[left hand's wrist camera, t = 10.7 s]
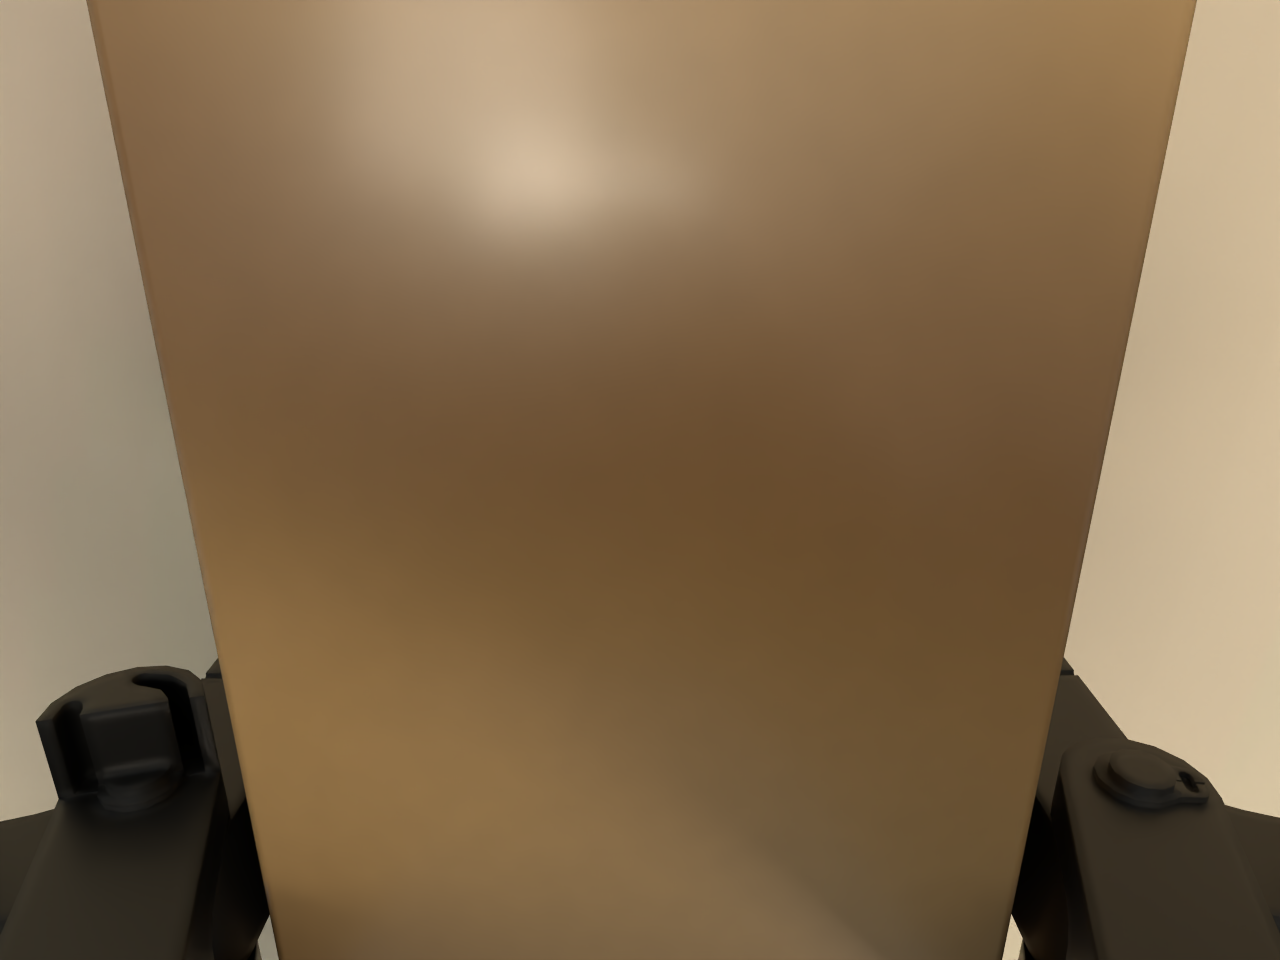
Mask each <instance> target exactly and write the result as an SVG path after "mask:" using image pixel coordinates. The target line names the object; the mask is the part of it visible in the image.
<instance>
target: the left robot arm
mask: <svg viewBox="0 0 1280 960" xmlns="http://www.w3.org/2000/svg"><path fill="white" fill-rule="evenodd" d="M36 725H37V728H38V731H39V735H40V738H41V741H42V745H43V748H44V751H45V755H46V758H47V761H48V765H49V768H50V771H51V774H52V778H53V781H54V784H55V788H56V791H57V794H58V798H59V800H58V802H57V804H56V807H55V809H52V810H49V811H45V812H42V813H38V814H34V815H29V816H25V817H20V818H15V819H11V820H6V821H1V822H0V960H262V958H261V954H260V949H259V944H258V938H259V936H260V934H261V932H262V930H263V928H264V925H265V923H266V921H267V919H268V917H269V915H270V913H269V908H268V903H267V898H266V893H265V888H264V883H263V878H262V873H261V868H260V863H259V858H258V853H257V848H256V843H255V838H254V833H253V828H252V823H251V818H250V813H249V808H248V803H247V798H246V793H245V788H244V783H243V778H242V773H241V768H240V763H239V758H238V753H237V748H236V743H235V738H234V733H233V728H232V723H231V718H230V713H229V708H228V703H227V698H226V693H225V688H224V683H223V678H222V673H221V668H220V663H219V659H217V660H216V661H215V662H214V664H213V665H212V666H211V668H210V669H209V670H208V671H207V673H206V678H205V679H199V678H198V677H197V676H195V675H194V674H193V673H192V672H190V671H189V670H185V669H180V668H175V667H170V666H150V667H136V668H132V669H128V670H123V671H119V672H115V673H110V674H106V675H104V676H101V677H99V678H97V679H94V680H92V681H89V682H87V683H84V684H82V685H80V686H77V687H75V688H74V689H72V690H71V691H69V692H68V693H66V694H65V695H63V696H62V697H60V698H59V699H57V700H55V701H54V702H52V703H51V704H50V705H49V706H48V708H47V709H46V710H45V711H44V712H43V713H42V715H41V716H40V717H39V718H38V719H37V721H36ZM1011 914H1012V916H1013V918H1014V920H1015V922H1016V925H1017V927H1018V929H1019V931H1020V933H1021V935H1022V938H1023V940H1022V944H1021V949H1020V954H1019V958H1018V960H1280V818H1278V817H1273V816H1269V815H1264V814H1259V813H1255V812H1250V811H1245V810H1241V809H1238V808H1234V807H1230V806H1227V805H1224V803H1223V800H1222V798H1221V797H1220V795H1219V794H1218V792H1217V791H1216V790H1215V788H1214V787H1213V785H1212V784H1211V783H1210V781H1209V780H1208V779H1207V778H1206V777H1205V776H1204V775H1202V774H1201V773H1200V772H1198V771H1197V770H1196V769H1195V768H1193V767H1192V766H1191V765H1189V764H1188V763H1187V762H1185V761H1184V760H1182V759H1180V758H1178V757H1176V756H1174V755H1172V754H1169V753H1167V752H1165V751H1163V750H1161V749H1159V748H1157V747H1154V746H1151V745H1147V744H1143V743H1139V742H1136V741H1132V740H1128V739H1127V738H1126V736H1125V735H1124V734H1123V732H1122V731H1121V730H1120V729H1119V727H1118V726H1117V725H1116V724H1115V722H1114V721H1113V720H1112V718H1111V717H1110V716H1109V715H1108V713H1107V712H1106V711H1105V709H1104V708H1103V707H1102V706H1101V704H1100V703H1099V702H1098V701H1097V699H1096V698H1095V697H1094V695H1093V694H1092V693H1091V692H1090V690H1089V689H1088V688H1087V686H1086V685H1085V684H1084V683H1083V681H1082V680H1081V679H1080V677H1079V676H1078V675H1074V670H1073V669H1072V667H1071V666H1070V665H1069V663H1068V662H1067V661H1066V660H1065V658H1064V657H1063V662H1062V666H1061V671H1060V676H1059V681H1058V686H1057V691H1056V696H1055V701H1054V706H1053V711H1052V716H1051V721H1050V726H1049V730H1048V735H1047V740H1046V745H1045V750H1044V755H1043V760H1042V765H1041V770H1040V775H1039V780H1038V785H1037V790H1036V795H1035V799H1034V804H1033V809H1032V814H1031V819H1030V824H1029V829H1028V834H1027V839H1026V844H1025V849H1024V854H1023V859H1022V863H1021V868H1020V873H1019V878H1018V883H1017V888H1016V893H1015V898H1014V903H1013V908H1012V913H1011Z"/></svg>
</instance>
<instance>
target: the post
mask: <svg viewBox="0 0 1280 960" xmlns="http://www.w3.org/2000/svg"><path fill="white" fill-rule="evenodd" d="M86 1H87V6H88V11H89V16H90V21H91V26H92V31H93V36H94V41H95V46H96V51H97V56H98V61H99V66H100V71H101V75H102V80H103V85H104V90H105V95H106V100H107V105H108V110H109V115H110V120H111V125H112V130H113V135H114V140H115V145H116V150H117V155H118V160H119V165H120V170H121V175H122V180H123V185H124V190H125V195H126V200H127V205H128V210H129V215H130V220H131V225H132V230H133V235H134V240H135V245H136V250H137V255H138V260H139V265H140V270H141V275H142V280H143V285H144V290H145V295H146V300H147V305H148V310H149V315H150V320H151V325H152V330H153V335H154V340H155V345H156V350H157V355H158V360H159V365H160V369H161V374H162V379H163V384H164V389H165V394H166V399H167V404H168V409H169V414H170V419H171V424H172V429H173V434H174V439H175V444H176V449H177V454H178V459H179V464H180V469H181V474H182V479H183V484H184V489H185V494H186V499H187V504H188V509H189V514H190V519H191V524H192V529H193V534H194V539H195V544H196V549H197V554H198V559H199V564H200V569H201V574H202V579H203V584H204V589H205V594H206V599H207V604H208V609H209V614H210V619H211V624H212V629H213V634H214V639H215V644H216V649H217V654H218V659H219V663H220V668H221V673H222V678H223V683H224V688H225V693H226V698H227V703H228V708H229V713H230V718H231V723H232V728H233V733H234V738H235V743H236V748H237V753H238V758H239V763H240V768H241V773H242V778H243V783H244V788H245V793H246V798H247V803H248V808H249V813H250V818H251V823H252V828H253V833H254V838H255V843H256V848H257V853H258V858H259V863H260V868H261V873H262V878H263V883H264V888H265V893H266V898H267V903H268V908H269V913H270V918H271V923H272V928H273V933H274V938H275V943H276V948H277V953H278V957H279V960H1002V957H1003V952H1004V947H1005V942H1006V937H1007V932H1008V928H1009V923H1010V918H1011V913H1012V908H1013V903H1014V898H1015V893H1016V888H1017V883H1018V878H1019V873H1020V868H1021V863H1022V859H1023V854H1024V849H1025V844H1026V839H1027V834H1028V829H1029V824H1030V819H1031V814H1032V809H1033V804H1034V799H1035V795H1036V790H1037V785H1038V780H1039V775H1040V770H1041V765H1042V760H1043V755H1044V750H1045V745H1046V740H1047V735H1048V730H1049V726H1050V721H1051V716H1052V711H1053V706H1054V701H1055V696H1056V691H1057V686H1058V681H1059V676H1060V671H1061V666H1062V662H1063V657H1064V652H1065V647H1066V642H1067V637H1068V632H1069V627H1070V622H1071V617H1072V612H1073V607H1074V602H1075V597H1076V593H1077V588H1078V583H1079V578H1080V573H1081V568H1082V563H1083V558H1084V553H1085V548H1086V543H1087V538H1088V533H1089V528H1090V524H1091V519H1092V514H1093V509H1094V504H1095V499H1096V494H1097V489H1098V484H1099V479H1100V474H1101V469H1102V464H1103V460H1104V455H1105V450H1106V445H1107V440H1108V435H1109V430H1110V425H1111V420H1112V415H1113V410H1114V405H1115V400H1116V395H1117V391H1118V386H1119V381H1120V376H1121V371H1122V366H1123V361H1124V356H1125V351H1126V346H1127V341H1128V336H1129V331H1130V327H1131V322H1132V317H1133V312H1134V307H1135V302H1136V297H1137V292H1138V287H1139V282H1140V277H1141V272H1142V267H1143V262H1144V258H1145V253H1146V248H1147V243H1148V238H1149V233H1150V228H1151V223H1152V218H1153V213H1154V208H1155V203H1156V198H1157V193H1158V189H1159V184H1160V179H1161V174H1162V169H1163V164H1164V159H1165V154H1166V149H1167V144H1168V139H1169V134H1170V129H1171V125H1172V120H1173V115H1174V110H1175V105H1176V100H1177V95H1178V90H1179V85H1180V80H1181V75H1182V70H1183V65H1184V60H1185V56H1186V51H1187V46H1188V41H1189V36H1190V31H1191V26H1192V21H1193V16H1194V11H1195V6H1196V1H1197V0H86Z"/></svg>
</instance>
